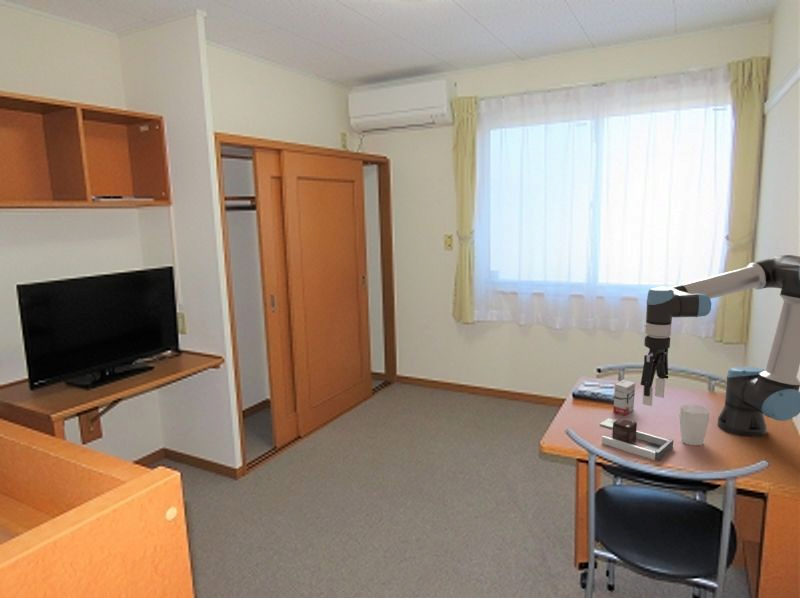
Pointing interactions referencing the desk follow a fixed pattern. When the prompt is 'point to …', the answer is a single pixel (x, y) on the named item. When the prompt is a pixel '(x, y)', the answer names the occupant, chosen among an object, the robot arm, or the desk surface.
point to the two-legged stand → (652, 450)
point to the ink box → (624, 397)
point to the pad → (608, 423)
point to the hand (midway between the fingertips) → (653, 400)
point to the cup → (693, 424)
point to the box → (624, 430)
